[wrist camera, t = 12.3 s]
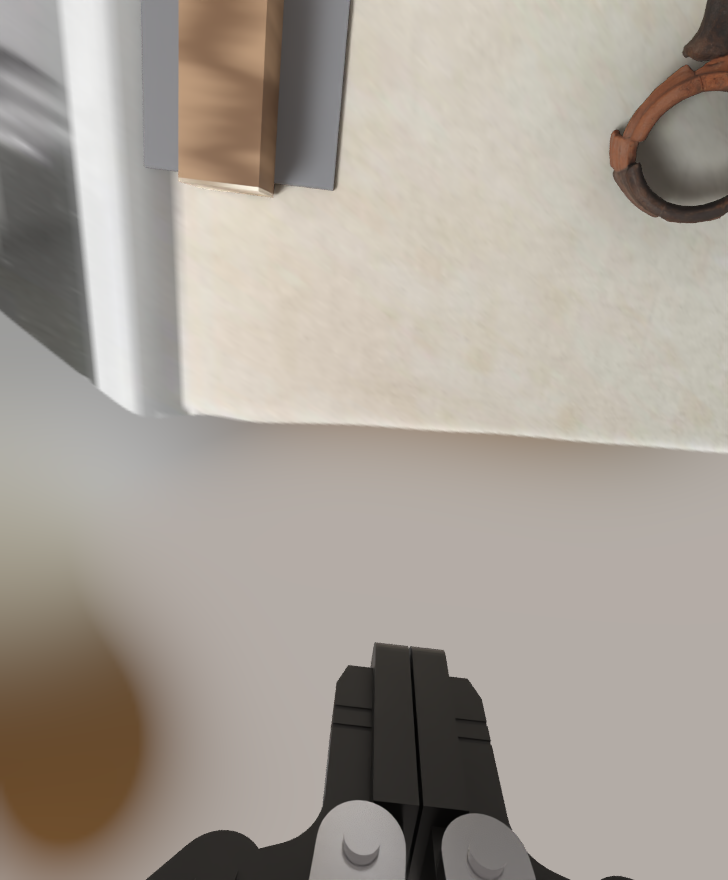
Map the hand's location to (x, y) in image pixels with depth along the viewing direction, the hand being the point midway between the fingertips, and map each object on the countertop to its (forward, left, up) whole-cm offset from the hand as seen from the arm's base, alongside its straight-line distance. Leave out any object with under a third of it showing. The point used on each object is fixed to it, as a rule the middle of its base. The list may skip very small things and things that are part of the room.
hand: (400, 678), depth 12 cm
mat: (+11, -18, -29) cm, 36 cm away
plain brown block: (+11, -11, -26) cm, 31 cm away
